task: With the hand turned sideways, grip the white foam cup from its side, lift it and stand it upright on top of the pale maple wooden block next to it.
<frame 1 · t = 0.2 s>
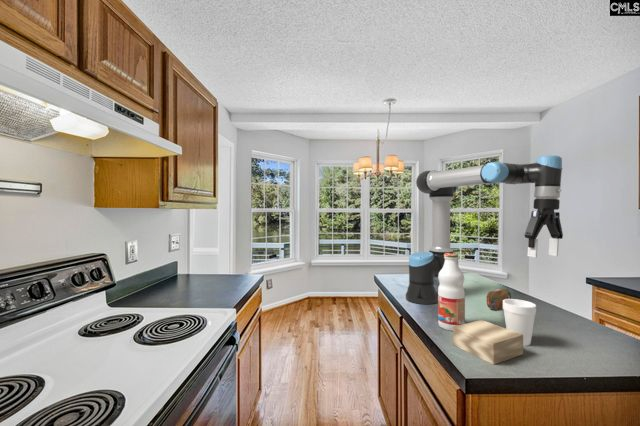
hand: (542, 256, 108), 27 cm above the worktop, tool pointing down, fingers open, 13 cm apart
tin: (498, 308, 134), on the worktop
maple block: (486, 349, 94), on the worktop
foam cup: (519, 342, 99), on the worktop
fruit juice: (451, 327, 112), on the worktop
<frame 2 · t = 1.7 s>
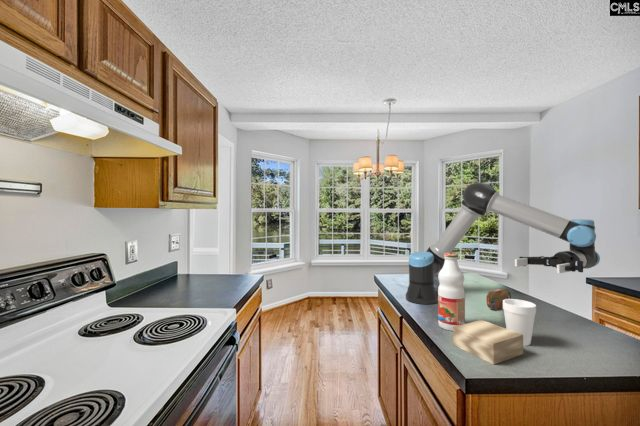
hand: (535, 265, 103), 25 cm above the worktop, tool horizontal, fingers open, 13 cm apart
nothing on the worktop moved.
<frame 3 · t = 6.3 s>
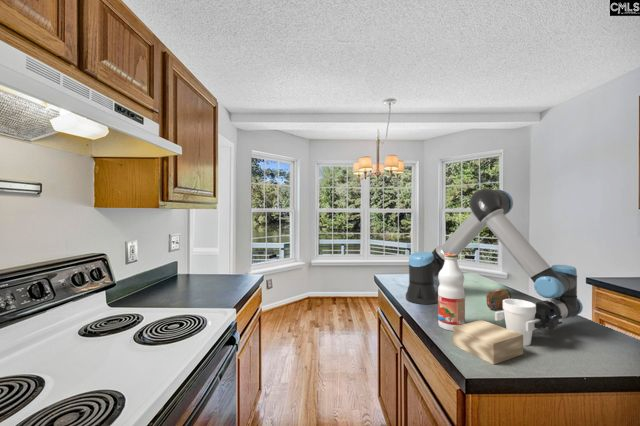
hand: (510, 321, 98), 8 cm above the worktop, tool horizontal, fingers closed on foam cup, 9 cm apart
foam cup: (519, 341, 99), on the worktop, touching gripper
everything else where it was.
when the fingers open (15 cm above the worktop, at t = 10.4 s): foam cup drops 1 cm, resting on maple block.
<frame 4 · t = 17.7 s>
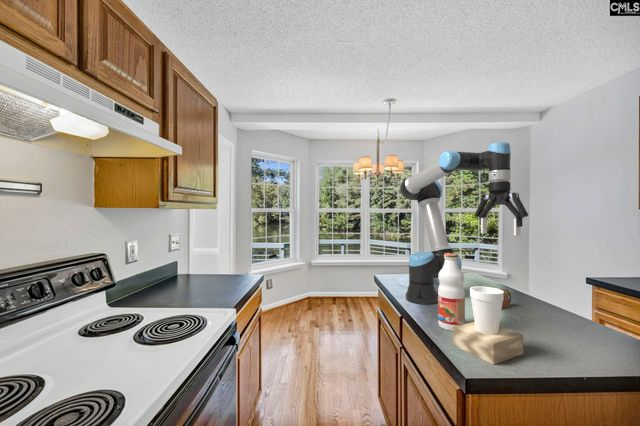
hand: (499, 234, 118), 35 cm above the worktop, tool pointing down, fingers open, 13 cm apart
foam cup: (486, 331, 94), point 6 cm above the worktop, touching maple block
everything else where it was.
at the end: foam cup inside the target area on the maple block (0.0 cm from its centre), point 5.8 cm above the maple block's base; foam cup tilted 0°; the gripper is holding nothing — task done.
